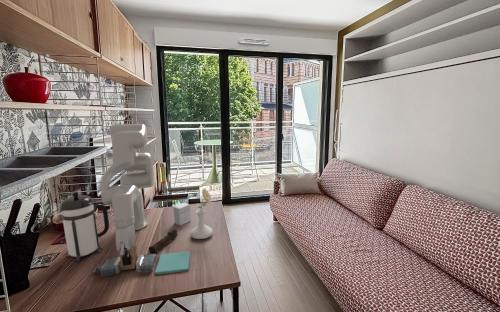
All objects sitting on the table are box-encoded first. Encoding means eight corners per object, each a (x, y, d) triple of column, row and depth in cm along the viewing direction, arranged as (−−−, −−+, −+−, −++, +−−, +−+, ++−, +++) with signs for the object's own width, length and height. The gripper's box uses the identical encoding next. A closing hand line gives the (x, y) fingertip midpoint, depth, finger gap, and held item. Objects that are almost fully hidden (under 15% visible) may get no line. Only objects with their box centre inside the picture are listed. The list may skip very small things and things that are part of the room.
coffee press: (97, 260, 113) (88, 196, 107) (57, 264, 110) (46, 199, 105) (111, 240, 130) (104, 184, 124) (77, 243, 127) (68, 186, 121)
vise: (99, 265, 109) (98, 257, 108) (156, 259, 113) (155, 251, 112) (91, 277, 101) (90, 268, 100) (152, 271, 105) (151, 262, 104)
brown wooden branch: (155, 255, 116) (154, 246, 115) (148, 253, 118) (147, 244, 117) (181, 236, 133) (181, 228, 132) (175, 235, 135) (174, 227, 134)
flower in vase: (203, 243, 126) (200, 195, 121) (186, 237, 131) (183, 192, 127) (218, 232, 137) (217, 187, 132) (202, 227, 143) (200, 184, 138)
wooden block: (125, 262, 109) (123, 243, 108) (137, 261, 110) (135, 242, 108) (121, 270, 104) (119, 250, 103) (134, 268, 105) (132, 249, 103)
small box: (185, 218, 155) (183, 202, 153) (191, 220, 151) (190, 204, 149) (174, 223, 148) (173, 206, 146) (180, 225, 145) (179, 208, 143)
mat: (161, 256, 115) (160, 254, 115) (190, 253, 117) (190, 251, 117) (155, 274, 103) (155, 272, 102) (188, 270, 105) (188, 268, 105)
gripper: (121, 212, 111) (126, 250, 114) (106, 231, 94) (112, 274, 98) (139, 211, 112) (143, 248, 116) (128, 229, 96) (133, 272, 99)
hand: (129, 260), depth 107 cm, fingers closed on wooden block, 5 cm apart
